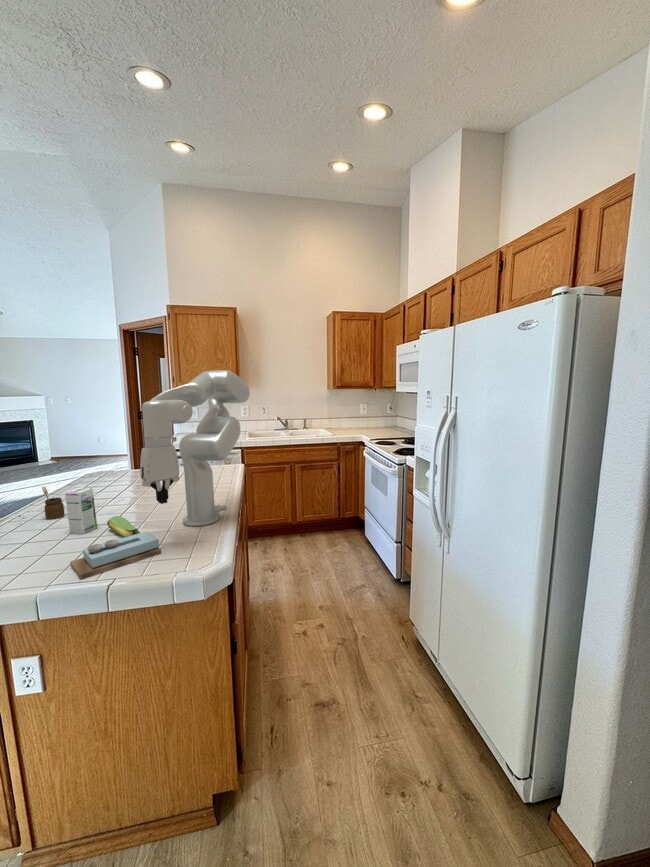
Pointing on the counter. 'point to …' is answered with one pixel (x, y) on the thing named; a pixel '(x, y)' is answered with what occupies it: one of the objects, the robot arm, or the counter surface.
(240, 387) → the robot arm
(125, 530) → the edible corn
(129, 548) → the panel
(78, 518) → the syrup box
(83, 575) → the board
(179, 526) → the counter surface
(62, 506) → the utensil holder
